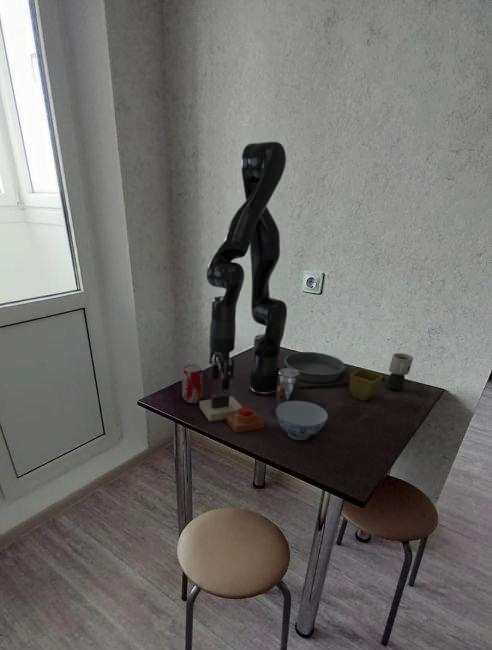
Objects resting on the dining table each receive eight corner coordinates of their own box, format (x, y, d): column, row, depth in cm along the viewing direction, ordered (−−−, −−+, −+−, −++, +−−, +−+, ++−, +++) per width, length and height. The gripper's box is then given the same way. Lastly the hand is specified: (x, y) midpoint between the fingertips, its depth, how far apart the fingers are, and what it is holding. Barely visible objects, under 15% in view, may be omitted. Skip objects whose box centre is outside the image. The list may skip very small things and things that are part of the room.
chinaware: (290, 452, 115) (294, 428, 111) (265, 426, 126) (267, 405, 122) (333, 442, 120) (338, 419, 116) (305, 419, 132) (308, 397, 128)
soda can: (199, 406, 137) (200, 373, 130) (179, 403, 138) (179, 370, 132) (204, 397, 143) (205, 365, 136) (185, 394, 144) (185, 363, 137)
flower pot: (378, 398, 147) (384, 375, 143) (367, 405, 142) (373, 382, 137) (355, 390, 152) (361, 368, 148) (344, 397, 147) (349, 374, 142)
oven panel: (231, 402, 140) (232, 395, 138) (245, 417, 131) (245, 409, 130) (199, 407, 136) (199, 400, 134) (210, 422, 127) (211, 415, 126)
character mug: (405, 395, 150) (415, 362, 144) (385, 392, 152) (394, 360, 145) (402, 384, 159) (411, 352, 153) (383, 381, 161) (391, 350, 154)
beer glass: (280, 420, 130) (286, 378, 122) (268, 411, 135) (273, 369, 127) (297, 416, 133) (304, 374, 125) (285, 407, 138) (291, 366, 130)
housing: (253, 415, 132) (254, 405, 130) (264, 427, 126) (265, 416, 124) (225, 420, 129) (226, 409, 127) (235, 432, 123) (236, 421, 120)
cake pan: (271, 372, 165) (272, 361, 162) (302, 357, 181) (303, 347, 179) (325, 390, 151) (327, 379, 149) (353, 372, 168) (355, 362, 165)
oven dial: (226, 404, 133) (227, 392, 131) (228, 406, 132) (229, 394, 129) (211, 406, 131) (211, 394, 129) (213, 409, 130) (213, 397, 128)
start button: (248, 410, 128) (248, 405, 127) (253, 415, 125) (253, 410, 124) (238, 412, 126) (238, 407, 125) (242, 417, 123) (243, 412, 123)
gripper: (244, 340, 115) (240, 391, 123) (225, 326, 126) (222, 374, 134) (219, 342, 112) (217, 394, 120) (202, 327, 123) (201, 376, 132)
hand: (220, 384), depth 127 cm, fingers open, 8 cm apart
